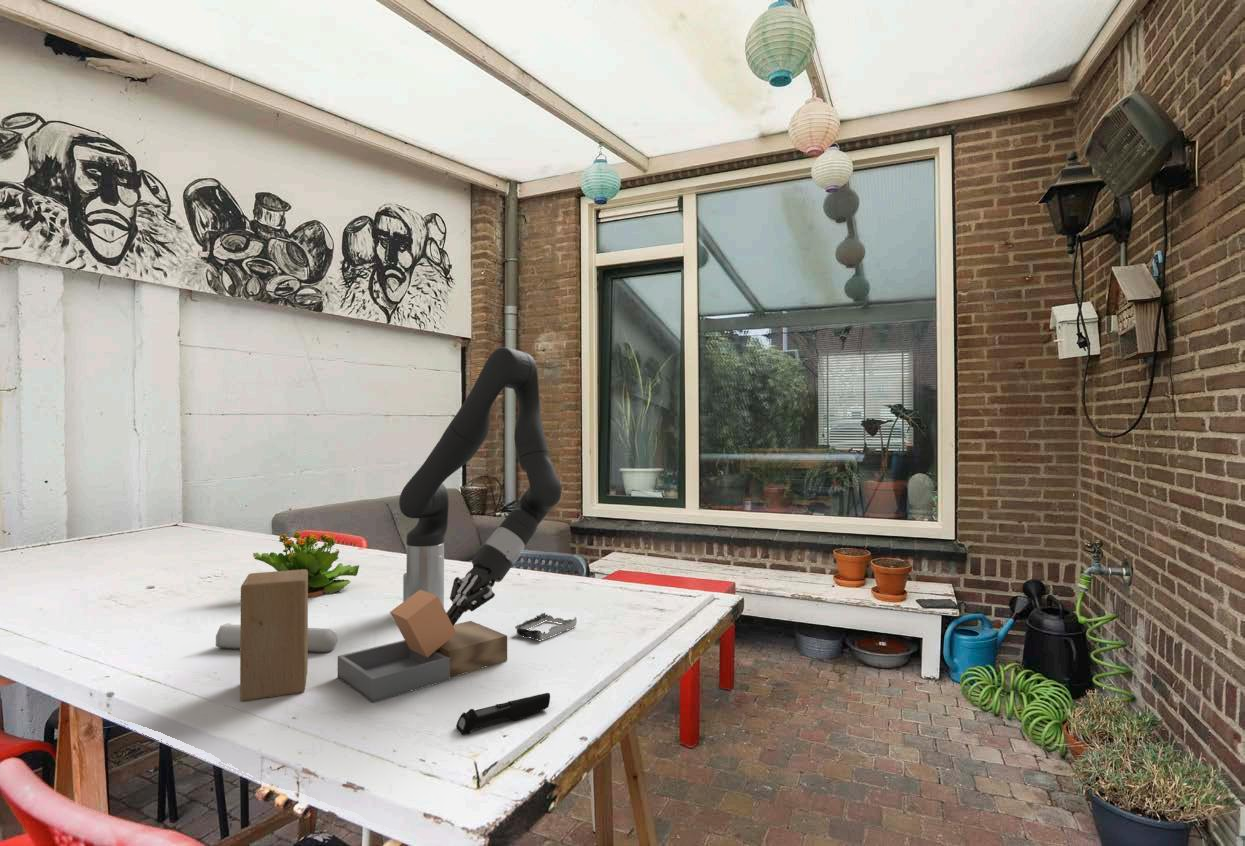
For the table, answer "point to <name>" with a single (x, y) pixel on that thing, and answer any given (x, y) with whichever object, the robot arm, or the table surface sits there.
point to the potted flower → (311, 562)
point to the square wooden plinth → (474, 648)
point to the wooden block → (274, 634)
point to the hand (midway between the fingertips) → (446, 623)
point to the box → (391, 670)
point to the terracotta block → (423, 623)
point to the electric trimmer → (502, 712)
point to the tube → (316, 638)
